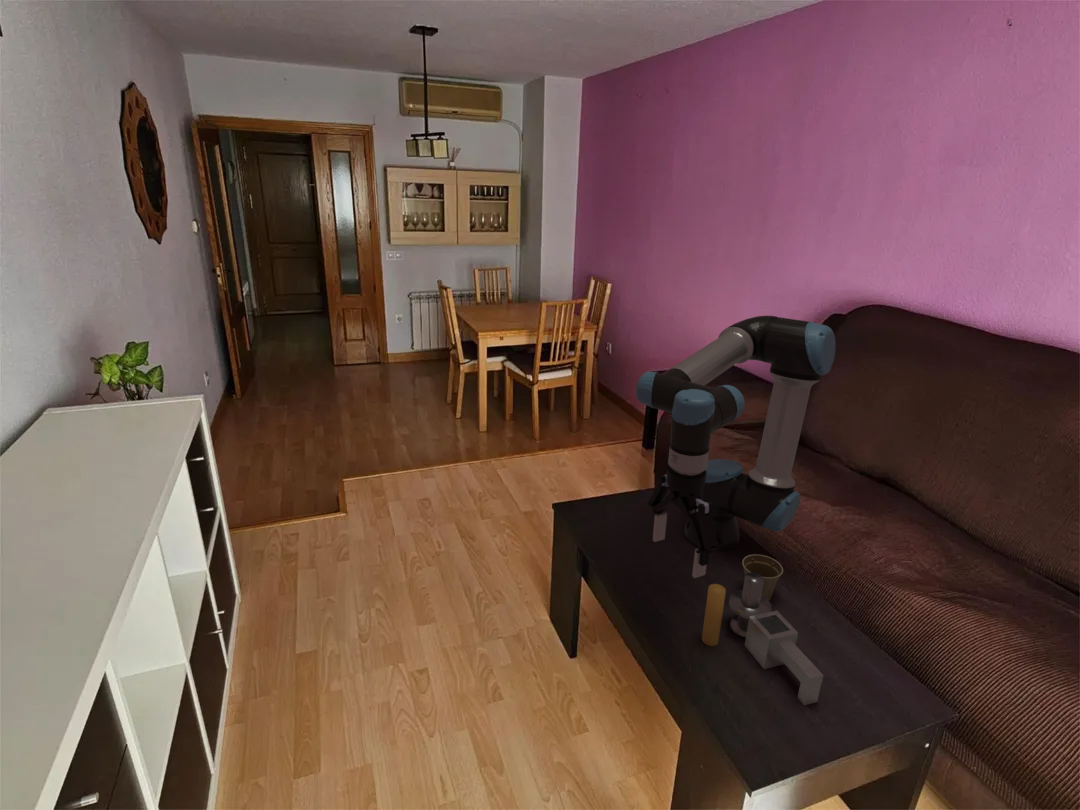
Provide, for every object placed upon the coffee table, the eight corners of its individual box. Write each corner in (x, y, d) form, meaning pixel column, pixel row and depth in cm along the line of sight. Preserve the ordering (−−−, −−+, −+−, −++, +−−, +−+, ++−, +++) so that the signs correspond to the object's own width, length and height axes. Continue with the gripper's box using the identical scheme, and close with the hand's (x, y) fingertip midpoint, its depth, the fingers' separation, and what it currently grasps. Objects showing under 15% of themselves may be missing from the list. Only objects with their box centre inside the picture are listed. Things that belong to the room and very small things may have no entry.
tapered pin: (708, 631, 134) (715, 581, 128) (721, 641, 131) (729, 590, 126) (698, 638, 132) (704, 588, 126) (711, 648, 129) (718, 597, 124)
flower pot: (744, 577, 152) (749, 549, 148) (782, 591, 147) (787, 562, 143) (732, 597, 144) (737, 568, 141) (771, 612, 139) (777, 583, 136)
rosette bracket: (829, 698, 117) (843, 643, 111) (791, 709, 114) (803, 653, 109) (751, 611, 140) (759, 562, 135) (718, 618, 138) (725, 569, 132)
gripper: (635, 445, 125) (630, 530, 132) (714, 501, 104) (702, 598, 111) (664, 439, 128) (657, 522, 135) (747, 492, 107) (732, 587, 114)
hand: (677, 556), depth 123 cm, fingers open, 13 cm apart
